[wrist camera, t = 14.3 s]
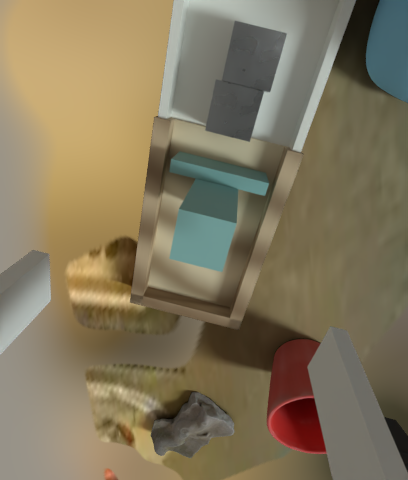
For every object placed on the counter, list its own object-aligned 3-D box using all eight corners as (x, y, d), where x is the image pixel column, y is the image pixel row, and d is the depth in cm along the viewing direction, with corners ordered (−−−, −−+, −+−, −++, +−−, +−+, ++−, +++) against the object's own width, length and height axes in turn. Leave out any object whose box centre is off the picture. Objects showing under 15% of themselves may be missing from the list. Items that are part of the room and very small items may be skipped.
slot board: (162, 115, 30) (154, 116, 27) (298, 148, 29) (303, 154, 27) (137, 288, 40) (130, 302, 37) (238, 314, 39) (238, 330, 37)
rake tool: (179, 151, 30) (144, 182, 19) (265, 172, 30) (279, 216, 19) (171, 198, 32) (136, 250, 22) (251, 218, 32) (255, 280, 22)
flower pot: (309, 394, 45) (325, 466, 36) (248, 363, 43) (249, 430, 35) (359, 353, 40) (391, 424, 31) (292, 317, 39) (307, 381, 30)
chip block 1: (235, 30, 25) (234, 20, 22) (281, 41, 25) (287, 33, 22) (224, 82, 27) (221, 80, 24) (266, 92, 27) (270, 92, 24)
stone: (198, 384, 47) (194, 409, 43) (241, 415, 49) (241, 441, 46) (144, 420, 53) (137, 444, 49) (184, 446, 55) (180, 471, 51)
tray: (187, -48, 24) (182, -63, 22) (351, -8, 24) (362, -19, 22) (164, 115, 30) (157, 117, 27) (296, 148, 29) (300, 152, 27)
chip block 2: (219, 81, 27) (215, 79, 24) (261, 91, 27) (264, 91, 24) (209, 126, 29) (205, 130, 26) (249, 136, 29) (249, 142, 26)
